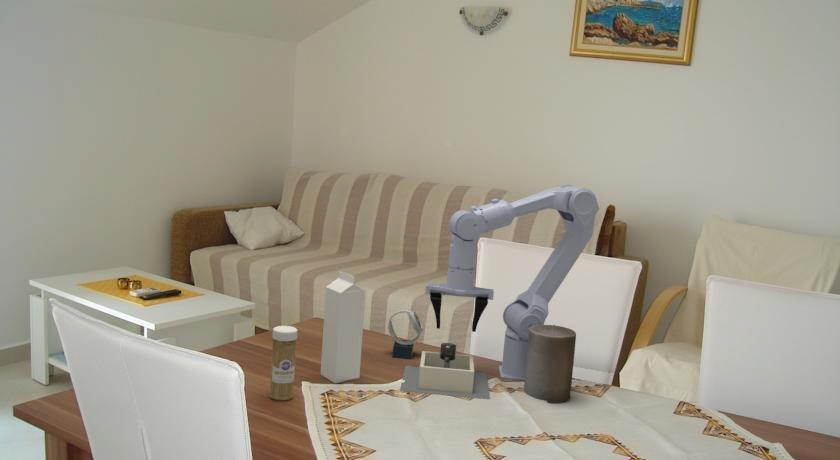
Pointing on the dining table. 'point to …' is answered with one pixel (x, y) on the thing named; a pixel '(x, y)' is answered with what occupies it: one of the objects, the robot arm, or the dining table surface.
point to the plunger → (447, 353)
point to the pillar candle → (550, 362)
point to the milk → (342, 329)
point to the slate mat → (412, 386)
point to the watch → (405, 347)
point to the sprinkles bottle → (283, 362)
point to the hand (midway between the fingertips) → (455, 329)
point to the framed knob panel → (446, 373)
